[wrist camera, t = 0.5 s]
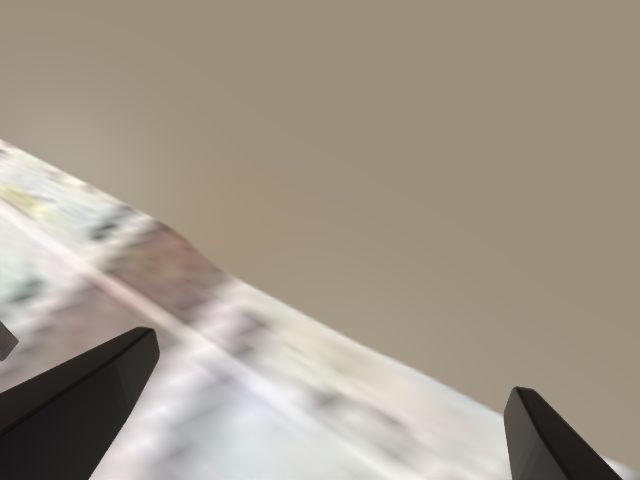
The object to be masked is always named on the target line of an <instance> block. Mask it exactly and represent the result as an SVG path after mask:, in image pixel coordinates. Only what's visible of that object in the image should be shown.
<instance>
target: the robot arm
mask: <svg viewBox="0 0 640 480" xmlns="http://www.w3.org/2000/svg"><path fill="white" fill-rule="evenodd" d="M159 356H160V350H159V345H158V341H157V336H156V332H155V330H154V329H152V328H148V327H136V328H134V329H132V330H130V331H128V332H126V333H124V334H122V335H120V336H117V337H115V338H113V339H111V340H109V341H107V342H105V343H103V344H101V345H99V346H97V347H95V348H93V349H91V350H89V351H87V352H85V353H83V354H80V355H78V356H76V357H74V358H72V359H70V360H68V361H66V362H64V363H62V364H60V365H58V366H56V367H54V368H52V369H50V370H48V371H45V372H43V373H41V374H39V375H37V376H35V377H33V378H31V379H29V380H27V381H25V382H23V383H21V384H19V385H17V386H15V387H13V388H10V389H8V390H6V391H4V392H2V393H0V480H89V478H90V477H91V475H92V473H93V472H94V470H95V469H96V467H97V466H98V464H99V463H100V461H101V459H102V458H103V456H104V455H105V453H106V452H107V450H108V448H109V447H110V445H111V444H112V442H113V441H114V439H115V438H116V436H117V434H118V433H119V431H120V430H121V428H122V427H123V425H124V424H125V422H126V420H127V419H128V417H129V415H130V414H131V412H132V410H133V408H134V407H135V405H136V403H137V401H138V399H139V397H140V395H141V393H142V391H143V389H144V387H145V385H146V383H147V381H148V379H149V378H150V376H151V374H152V372H153V370H154V368H155V366H156V364H157V362H158V360H159ZM504 426H505V432H506V439H507V446H508V453H509V460H510V467H511V474H512V480H623V479H622V478H621V477H620V476H619V475H618V474H617V473H616V472H615V471H614V470H613V469H612V468H611V467H610V466H609V465H608V464H607V463H606V462H605V461H604V460H603V459H602V458H601V457H600V456H599V455H598V454H597V453H596V452H595V451H594V450H593V449H592V448H591V447H590V446H589V445H588V444H587V443H586V442H585V441H584V440H583V439H582V438H581V436H580V435H579V434H578V433H577V432H576V431H575V430H574V429H573V428H572V427H570V425H569V424H568V423H567V422H566V421H565V420H564V419H563V418H562V417H561V416H560V415H559V414H558V413H557V412H556V411H555V410H554V409H553V408H552V407H551V406H550V405H549V404H548V403H547V402H546V401H545V400H544V399H543V398H542V397H541V396H540V395H539V394H538V393H537V392H536V391H535V390H533V389H531V388H524V387H518V386H517V387H514V388H513V389H512V391H511V394H510V396H509V399H508V402H507V405H506V407H505V410H504Z"/></svg>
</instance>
